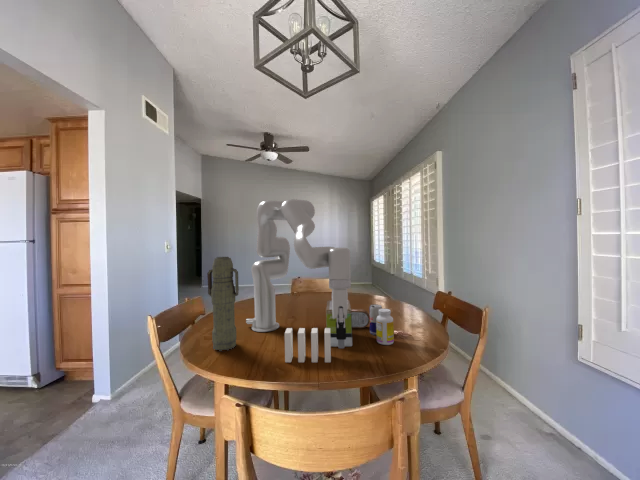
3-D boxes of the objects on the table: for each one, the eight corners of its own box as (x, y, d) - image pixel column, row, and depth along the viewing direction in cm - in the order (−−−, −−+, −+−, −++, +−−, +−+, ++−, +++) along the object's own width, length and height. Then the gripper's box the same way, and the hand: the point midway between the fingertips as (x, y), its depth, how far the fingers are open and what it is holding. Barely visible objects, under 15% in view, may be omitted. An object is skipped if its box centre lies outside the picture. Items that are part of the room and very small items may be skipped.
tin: (369, 326, 131) (369, 308, 131) (370, 329, 128) (370, 310, 128) (337, 326, 133) (337, 308, 133) (337, 328, 130) (336, 310, 129)
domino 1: (285, 362, 96) (284, 333, 96) (287, 356, 101) (286, 328, 101) (291, 362, 96) (290, 333, 96) (292, 356, 101) (292, 328, 101)
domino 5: (338, 348, 95) (337, 318, 95) (338, 342, 100) (337, 314, 100) (344, 348, 95) (343, 318, 95) (343, 342, 100) (343, 314, 100)
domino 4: (324, 362, 95) (324, 332, 95) (325, 356, 100) (324, 328, 100) (330, 362, 95) (330, 332, 95) (330, 355, 100) (330, 328, 100)
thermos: (213, 342, 115) (211, 256, 114) (242, 341, 115) (240, 256, 114) (204, 351, 106) (202, 258, 105) (236, 350, 106) (234, 257, 105)
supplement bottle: (394, 340, 114) (394, 308, 114) (393, 346, 108) (392, 312, 107) (377, 338, 116) (377, 307, 116) (375, 344, 110) (375, 311, 110)
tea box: (327, 333, 123) (327, 299, 123) (350, 333, 123) (350, 299, 123) (326, 347, 108) (325, 308, 108) (352, 347, 108) (352, 308, 108)
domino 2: (298, 362, 96) (297, 333, 96) (299, 355, 101) (299, 328, 101) (304, 362, 96) (303, 333, 95) (305, 356, 101) (305, 328, 100)
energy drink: (368, 331, 124) (368, 304, 124) (380, 331, 125) (379, 304, 125) (371, 335, 119) (371, 307, 119) (384, 335, 120) (383, 307, 119)
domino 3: (311, 362, 96) (311, 333, 95) (312, 356, 101) (312, 328, 100) (317, 362, 96) (316, 333, 95) (318, 356, 101) (317, 328, 100)
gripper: (329, 279, 106) (330, 328, 106) (328, 288, 89) (330, 346, 89) (349, 279, 105) (350, 328, 106) (352, 288, 88) (353, 345, 89)
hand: (340, 335), depth 97 cm, fingers closed on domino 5, 4 cm apart
